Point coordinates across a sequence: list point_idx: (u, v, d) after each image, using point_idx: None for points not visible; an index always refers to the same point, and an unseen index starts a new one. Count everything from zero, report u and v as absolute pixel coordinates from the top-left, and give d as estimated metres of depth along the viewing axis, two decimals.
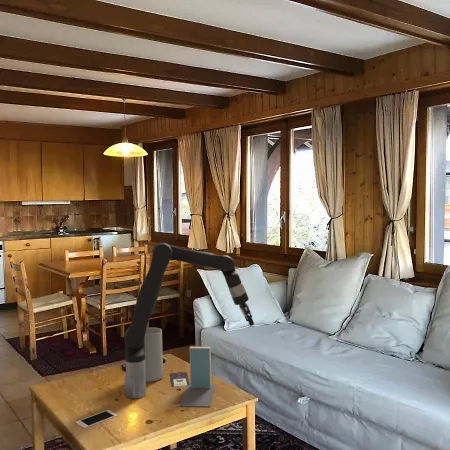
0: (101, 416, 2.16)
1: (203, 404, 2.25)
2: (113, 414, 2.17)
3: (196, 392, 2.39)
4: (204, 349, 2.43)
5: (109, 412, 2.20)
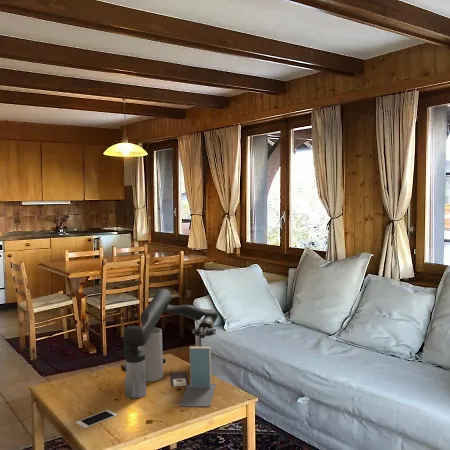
0: (101, 416, 2.16)
1: (203, 404, 2.25)
2: (113, 414, 2.18)
3: (196, 392, 2.39)
4: (204, 349, 2.43)
5: (109, 412, 2.20)
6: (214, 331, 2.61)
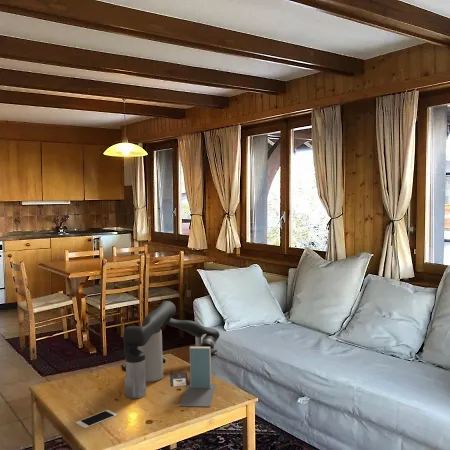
0: (101, 416, 2.16)
1: (203, 404, 2.25)
2: (113, 414, 2.18)
3: (196, 392, 2.39)
4: (204, 349, 2.43)
5: (109, 412, 2.20)
6: (215, 352, 2.60)
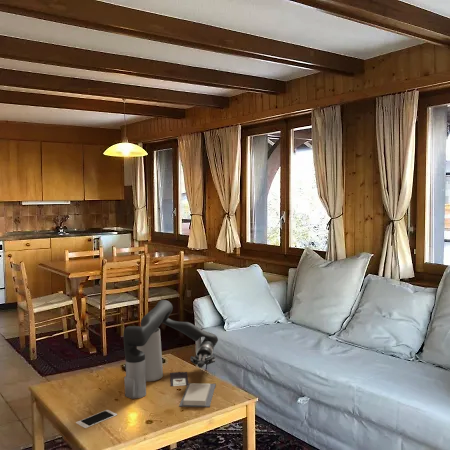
0: (101, 416, 2.16)
1: None
2: (113, 413, 2.18)
3: None
4: (199, 405, 2.24)
5: (108, 412, 2.20)
6: (213, 359, 2.48)
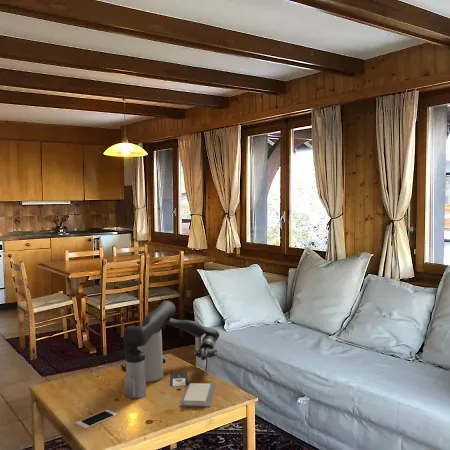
0: (101, 416, 2.16)
1: None
2: (113, 413, 2.18)
3: None
4: (199, 405, 2.24)
5: (108, 412, 2.20)
6: (215, 352, 2.60)
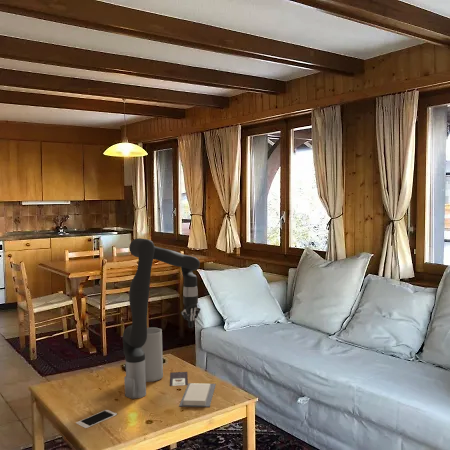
0: (101, 416, 2.16)
1: None
2: (113, 413, 2.18)
3: None
4: (199, 405, 2.24)
5: (108, 412, 2.20)
6: None
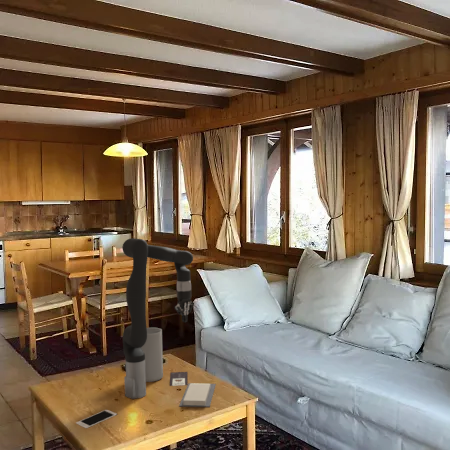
0: (101, 416, 2.16)
1: None
2: (112, 413, 2.18)
3: None
4: (199, 405, 2.24)
5: (108, 411, 2.20)
6: None
